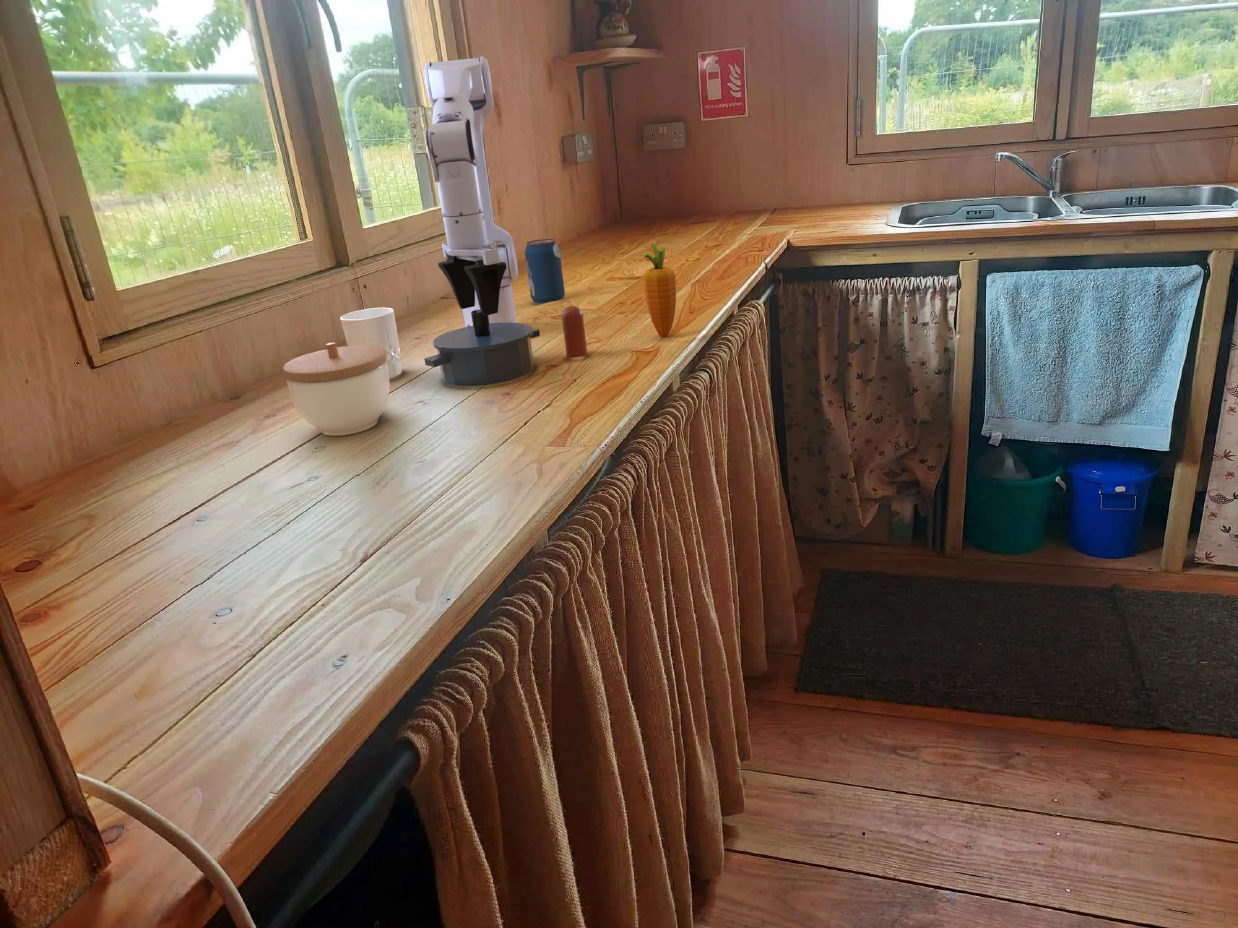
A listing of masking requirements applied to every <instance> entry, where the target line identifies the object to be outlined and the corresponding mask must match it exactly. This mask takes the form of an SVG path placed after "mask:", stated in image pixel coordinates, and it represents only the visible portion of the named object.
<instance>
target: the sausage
mask: <svg viewBox="0 0 1238 928" xmlns="http://www.w3.org/2000/svg"><path fill="white" fill-rule="evenodd" d="M561 322H562V332H563V338H564V346H565V355H566V357H568V358H580V357H584V356H586V355H587V354H588V347H587V339H586V330H585V321H584V313H583V311H582V310H581V308H579V307H578V306H576V305H569V306H567V307H565V308H564V309H563V311H562V312H561Z"/></svg>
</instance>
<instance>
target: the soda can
mask: <svg viewBox="0 0 1238 928" xmlns="http://www.w3.org/2000/svg"><path fill="white" fill-rule="evenodd" d="M524 257H525V265H526V271H527V280H528V287H529V293H530V295H529V296H530V298H531V300H532V302H534V304H535V305H539V306H540V305H543V304H548V303H551V302H556V301H559V300H563V299H564V297H565V294H566V290H565V283H564V275H563V266H562V259H561V251H560V246H559V245H558V244H557V242H556V239H555V238H541V239H534V240H530V241H527V242H526V247H525V249H524Z"/></svg>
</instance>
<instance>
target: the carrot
mask: <svg viewBox="0 0 1238 928" xmlns="http://www.w3.org/2000/svg"><path fill="white" fill-rule="evenodd" d="M650 247H651V249H652V252H653V254H654V255H651V254H650V253H648V252H644V253H643V254H642V255H643V257H644V258H647V259H648V260H649V261H650V262H651V263H652V265H653V267H651V268H649V269H647V270H645V271H644V273H643V286H644V293H645V294H644V295H645V300H646V301H645V302H646V305H647V309H648V313H649V316H650V320H651V323H652V325H653V327H654V329H655V331H656V333H657V335H658V336H659V337H660V338H663V339H665V338H668V337H669V335H670V332H671V330H672V328H673V324H674V321H675V315H676V304H677V285H676V273H675V271H674V270H673V269H672V268H670V267H668V266H664V262H665V257H666V248H665V247H663V246H661V247H660V248H659V249H658V247H657V244H656V243H655V242H653V243H651V244H650Z"/></svg>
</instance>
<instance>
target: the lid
mask: <svg viewBox="0 0 1238 928" xmlns="http://www.w3.org/2000/svg"><path fill="white" fill-rule="evenodd" d="M471 316H472V322H473V326H469V327H465V326H463V327H460V328H456V329H453V330H450V331H446V332H444V333H442V334H440V335H438V336H437V337H435V338H434V339H433V340H432V344H433V347H434V349H436V350H437V349H438V350H441V351H447V352H474V351H483V350H490V349H496V348H501V347H505V346H509V345H513V344H516V343H519V342H521V341H524V340H526V339H527V338H529V337H530V336H531V335H532V334H533V330H532V329H533V327H532V326H531V325H529V324H526V323H521V322H517V323H489V317H488V315H487V316H484V315H483V314H482V312H481V309H479V310H474V311H472V312H471Z"/></svg>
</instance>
